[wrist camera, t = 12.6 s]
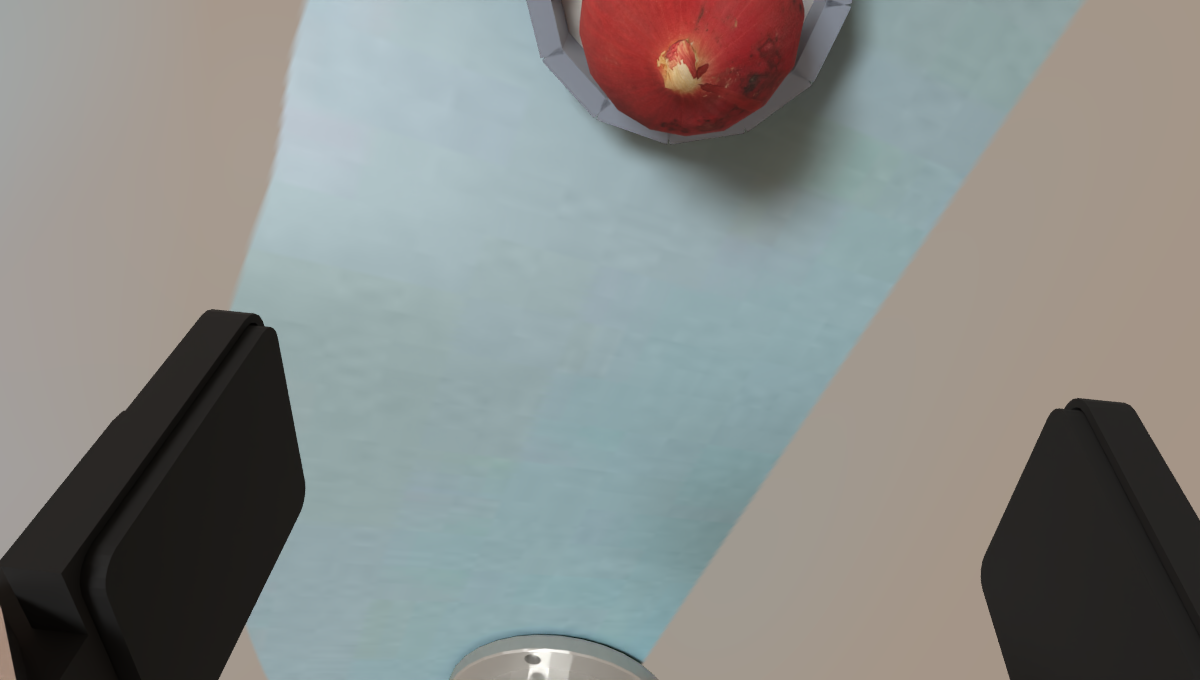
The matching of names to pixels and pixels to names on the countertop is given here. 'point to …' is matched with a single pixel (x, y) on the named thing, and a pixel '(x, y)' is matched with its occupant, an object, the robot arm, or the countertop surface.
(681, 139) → the gray dish
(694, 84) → the onion
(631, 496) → the countertop surface
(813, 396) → the countertop surface
